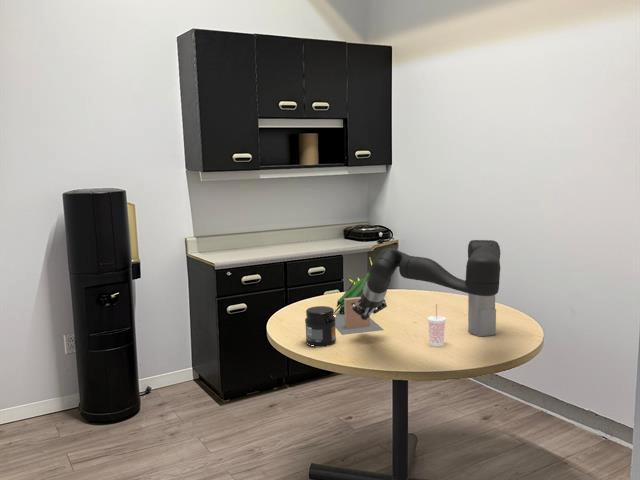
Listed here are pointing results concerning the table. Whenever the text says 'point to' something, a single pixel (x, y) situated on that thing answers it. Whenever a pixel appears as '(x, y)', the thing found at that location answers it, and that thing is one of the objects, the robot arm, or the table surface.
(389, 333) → the table surface
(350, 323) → the tile
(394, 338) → the table surface
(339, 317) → the felt mat
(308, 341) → the supplement container
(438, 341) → the beverage cup
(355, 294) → the daffodil flowers
